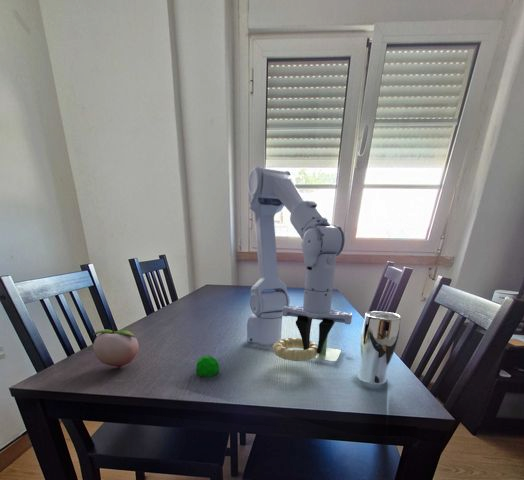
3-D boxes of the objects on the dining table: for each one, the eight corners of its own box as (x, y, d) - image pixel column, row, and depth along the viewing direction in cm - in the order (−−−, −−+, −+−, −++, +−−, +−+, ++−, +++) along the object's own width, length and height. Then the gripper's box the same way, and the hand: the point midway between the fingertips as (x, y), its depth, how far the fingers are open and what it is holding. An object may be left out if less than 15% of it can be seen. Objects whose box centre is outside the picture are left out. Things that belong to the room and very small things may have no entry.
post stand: (300, 359, 72) (301, 336, 70) (309, 348, 80) (311, 327, 77) (335, 366, 69) (338, 342, 66) (341, 354, 76) (344, 332, 74)
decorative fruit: (90, 377, 61) (80, 332, 57) (104, 362, 68) (96, 322, 65) (136, 374, 62) (129, 331, 59) (144, 360, 70) (139, 321, 66)
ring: (266, 357, 62) (266, 347, 61) (282, 343, 71) (282, 334, 70) (312, 366, 58) (313, 355, 57) (323, 350, 67) (324, 340, 66)
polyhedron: (205, 370, 65) (204, 351, 63) (223, 374, 63) (223, 355, 61) (191, 379, 61) (190, 358, 59) (210, 384, 59) (209, 363, 57)
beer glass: (385, 394, 56) (399, 321, 51) (350, 384, 60) (360, 315, 54) (390, 380, 62) (404, 314, 56) (358, 373, 65) (368, 309, 60)
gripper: (278, 289, 57) (276, 351, 62) (352, 295, 52) (343, 363, 57) (289, 284, 63) (286, 341, 68) (356, 290, 58) (348, 351, 63)
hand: (312, 350), depth 63 cm, fingers closed on ring, 2 cm apart
